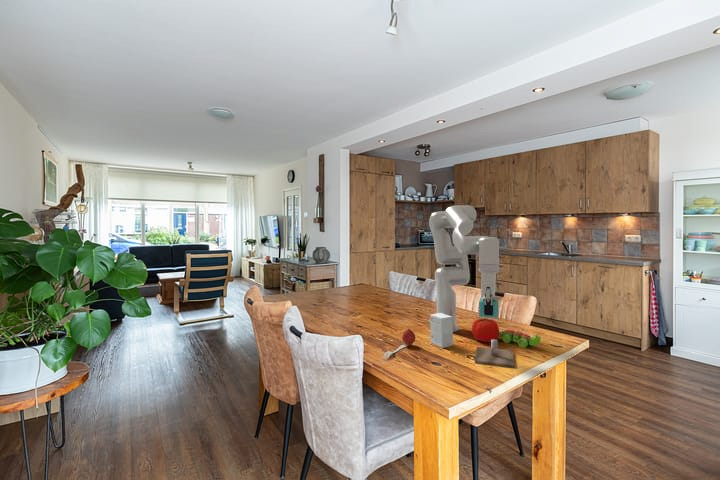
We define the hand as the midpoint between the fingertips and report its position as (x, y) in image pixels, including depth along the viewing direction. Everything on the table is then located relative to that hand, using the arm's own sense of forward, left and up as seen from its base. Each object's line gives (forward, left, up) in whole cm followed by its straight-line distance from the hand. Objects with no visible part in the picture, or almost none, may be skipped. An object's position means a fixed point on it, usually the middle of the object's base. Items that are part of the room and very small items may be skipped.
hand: (489, 312), depth 137 cm
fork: (-37, -7, -19) cm, 42 cm away
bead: (0, 0, -1) cm, 1 cm away
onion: (-33, +3, -18) cm, 38 cm away
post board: (+2, 0, -18) cm, 18 cm away
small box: (-20, +9, -18) cm, 29 cm away
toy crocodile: (+11, +21, -18) cm, 30 cm away
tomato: (-2, +20, -18) cm, 27 cm away
